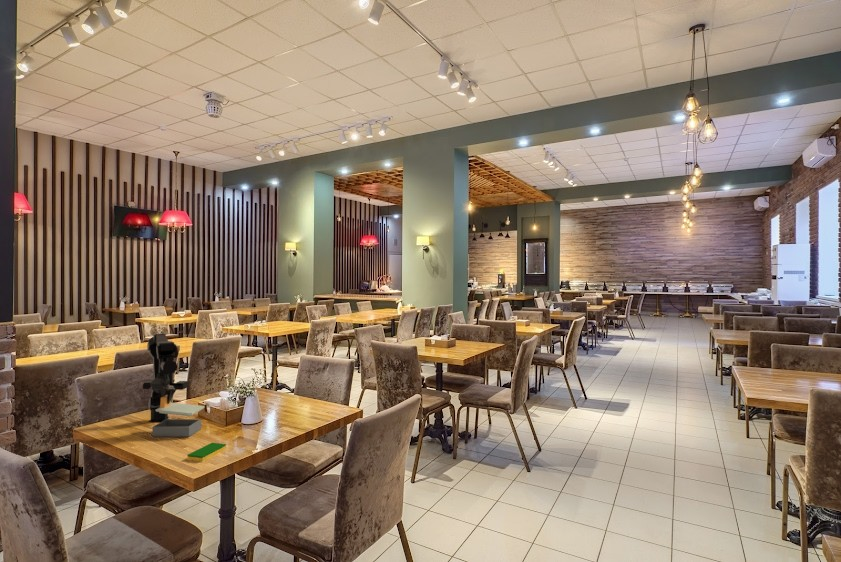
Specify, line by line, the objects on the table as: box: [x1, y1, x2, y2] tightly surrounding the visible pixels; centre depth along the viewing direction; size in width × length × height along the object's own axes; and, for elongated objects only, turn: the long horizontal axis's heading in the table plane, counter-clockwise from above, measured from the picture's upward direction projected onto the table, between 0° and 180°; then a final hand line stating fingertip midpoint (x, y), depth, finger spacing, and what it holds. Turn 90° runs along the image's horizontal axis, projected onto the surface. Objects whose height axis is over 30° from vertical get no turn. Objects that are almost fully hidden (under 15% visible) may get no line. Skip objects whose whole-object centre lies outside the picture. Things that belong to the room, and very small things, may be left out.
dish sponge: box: [187, 442, 227, 463], centre depth 179 cm, size 7×14×2 cm, turn 165°
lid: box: [156, 395, 205, 417], centre depth 206 cm, size 16×11×6 cm
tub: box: [152, 418, 202, 438], centre depth 203 cm, size 16×11×4 cm
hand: (165, 403), depth 206 cm, fingers closed on lid, 2 cm apart
